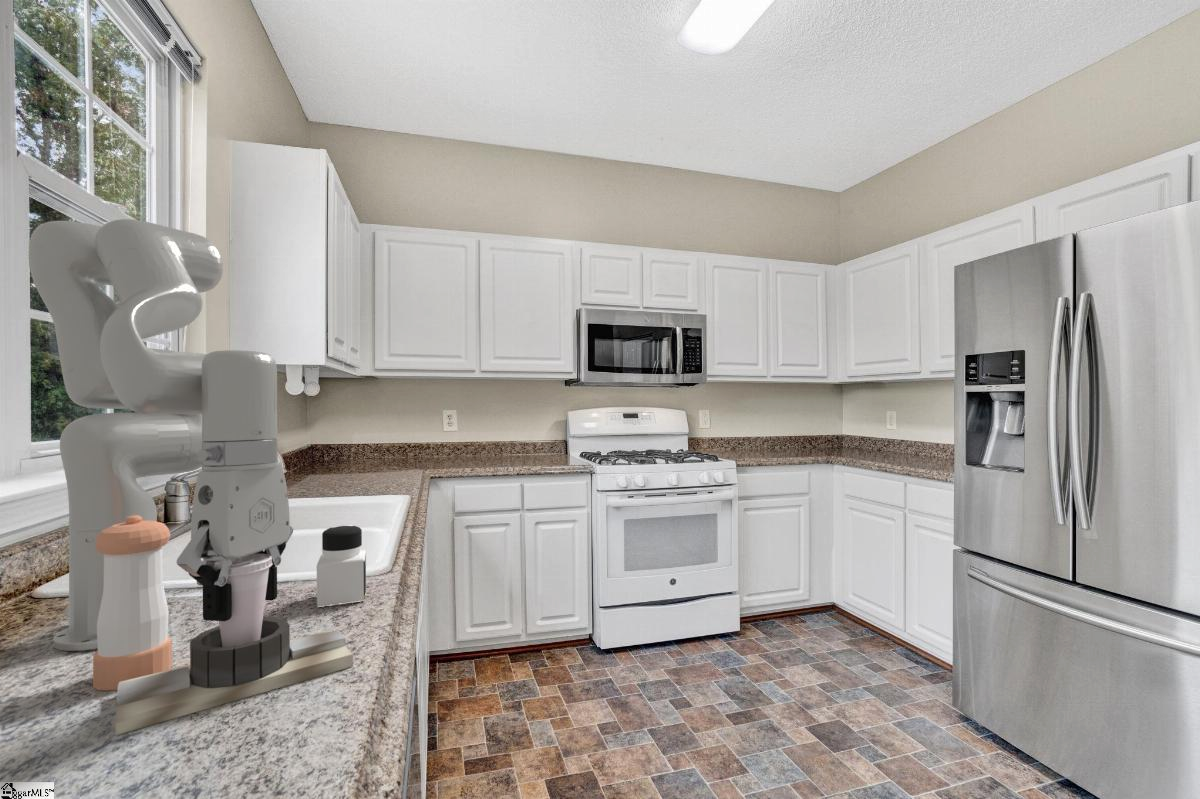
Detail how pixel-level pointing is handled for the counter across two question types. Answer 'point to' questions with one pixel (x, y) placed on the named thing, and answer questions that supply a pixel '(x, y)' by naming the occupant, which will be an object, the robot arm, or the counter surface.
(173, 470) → the robot arm
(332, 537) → the medicine bottle
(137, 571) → the pepper shaker
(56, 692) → the counter surface
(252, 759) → the counter surface
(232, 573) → the smoothie
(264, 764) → the counter surface
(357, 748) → the counter surface
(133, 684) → the socket rail
